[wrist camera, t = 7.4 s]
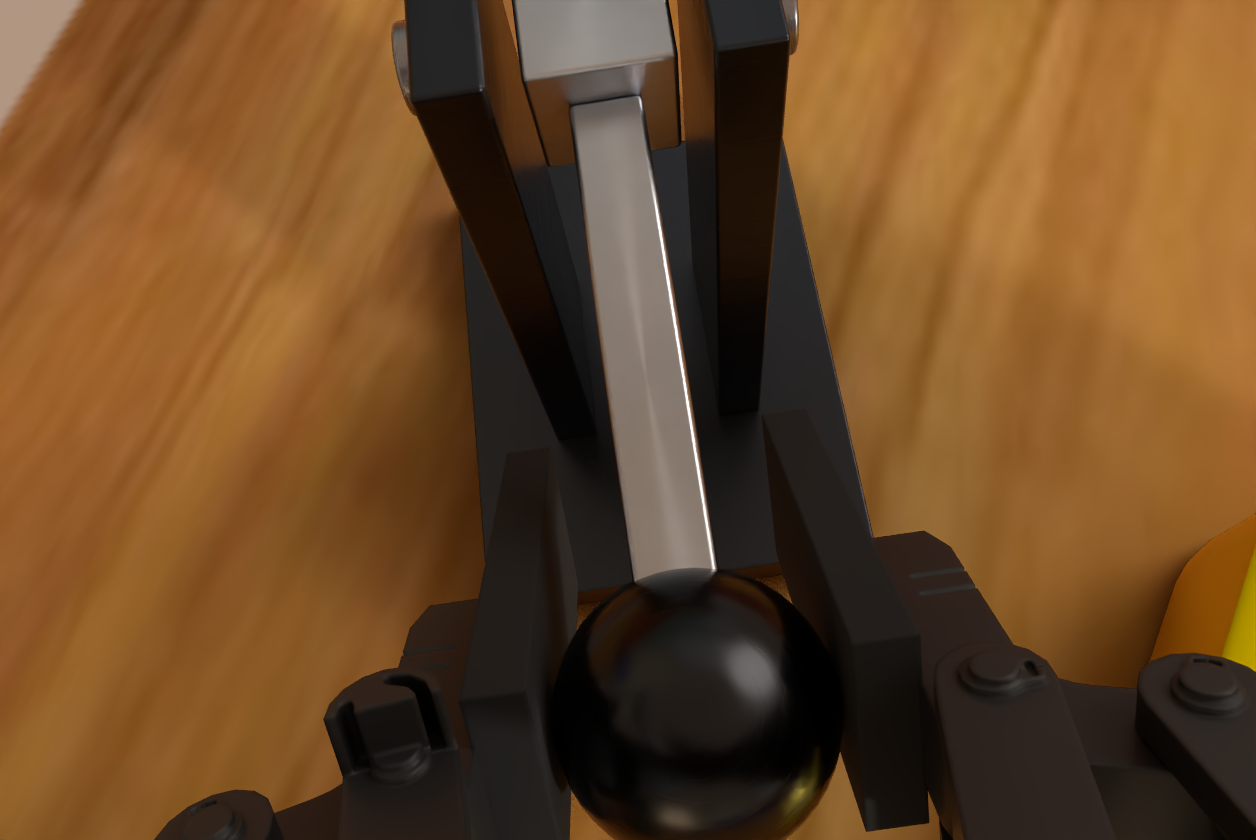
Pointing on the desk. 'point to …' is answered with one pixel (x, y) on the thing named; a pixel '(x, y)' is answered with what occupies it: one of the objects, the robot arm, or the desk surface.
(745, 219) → the black lever stand
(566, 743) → the tap lever
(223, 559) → the desk surface
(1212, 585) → the element tile
